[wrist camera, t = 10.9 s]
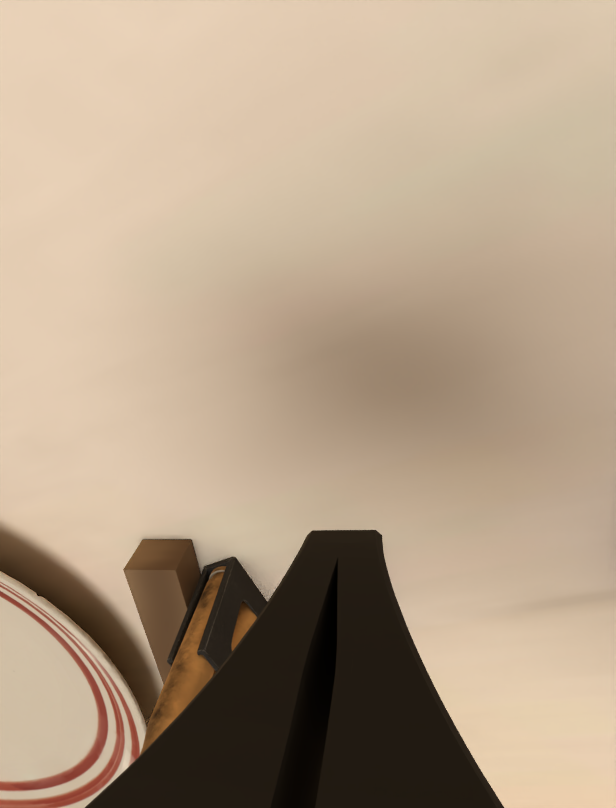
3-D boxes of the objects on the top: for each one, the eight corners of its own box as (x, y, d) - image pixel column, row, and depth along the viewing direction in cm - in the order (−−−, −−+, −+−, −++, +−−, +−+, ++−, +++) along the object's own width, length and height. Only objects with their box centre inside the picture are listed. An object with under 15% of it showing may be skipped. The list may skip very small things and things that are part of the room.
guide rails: (371, 539, 23) (369, 572, 21) (390, 775, 30) (390, 814, 28) (142, 539, 24) (123, 569, 23) (213, 761, 32) (203, 796, 30)
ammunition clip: (335, 697, 28) (303, 1037, 17) (306, 704, 28) (256, 1036, 18) (234, 555, 24) (113, 869, 13) (203, 566, 25) (63, 875, 14)
